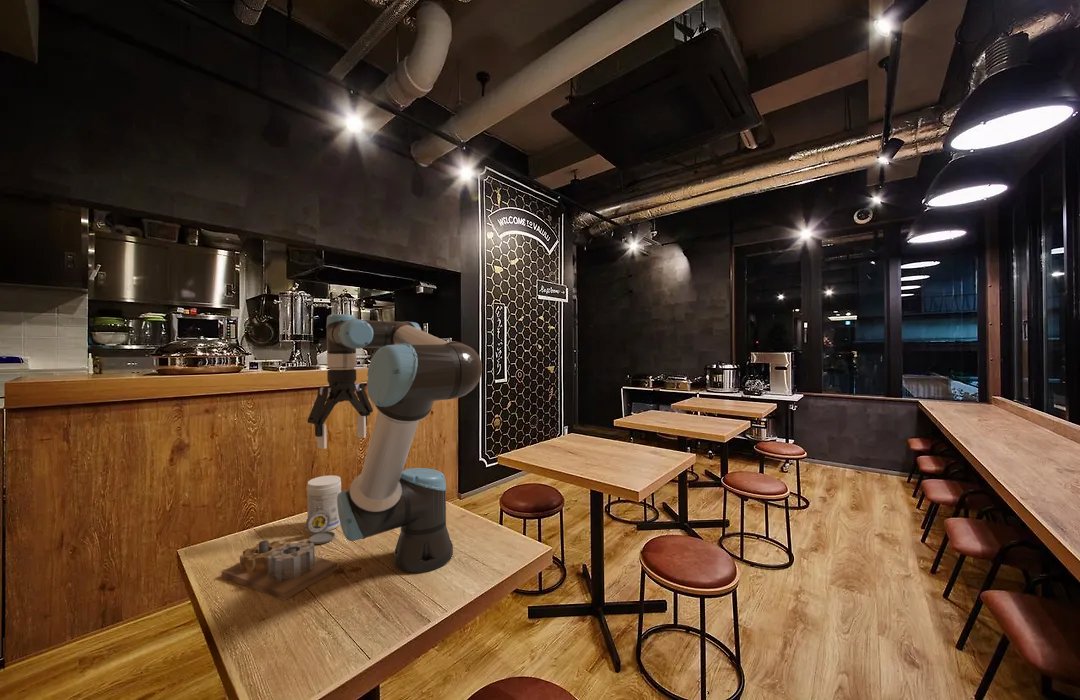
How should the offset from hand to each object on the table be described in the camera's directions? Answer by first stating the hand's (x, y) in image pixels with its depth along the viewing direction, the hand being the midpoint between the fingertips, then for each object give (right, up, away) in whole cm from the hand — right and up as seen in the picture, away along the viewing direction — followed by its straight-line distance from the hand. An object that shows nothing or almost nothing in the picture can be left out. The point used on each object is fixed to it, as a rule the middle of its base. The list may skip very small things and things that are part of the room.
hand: (342, 442), depth 119 cm
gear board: (-8, -29, -16) cm, 34 cm away
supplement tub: (-11, -29, +11) cm, 32 cm away
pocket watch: (-8, -29, +3) cm, 30 cm away
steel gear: (-4, -28, -17) cm, 33 cm away
